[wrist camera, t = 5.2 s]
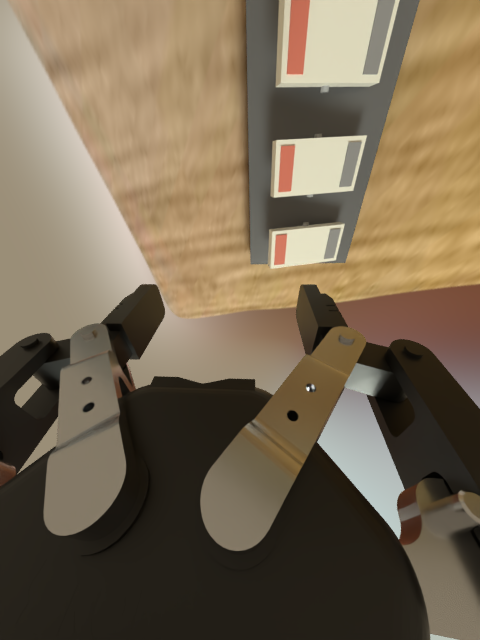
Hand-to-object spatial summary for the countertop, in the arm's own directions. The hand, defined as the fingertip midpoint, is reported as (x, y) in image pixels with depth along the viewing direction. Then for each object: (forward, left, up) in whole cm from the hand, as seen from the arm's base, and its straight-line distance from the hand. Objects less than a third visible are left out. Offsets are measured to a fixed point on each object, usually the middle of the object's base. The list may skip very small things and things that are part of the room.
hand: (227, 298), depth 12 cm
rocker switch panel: (-7, -5, -19) cm, 21 cm away
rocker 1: (-7, -12, -14) cm, 20 cm away
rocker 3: (-7, +2, -14) cm, 16 cm away
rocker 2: (-7, -5, -14) cm, 17 cm away
